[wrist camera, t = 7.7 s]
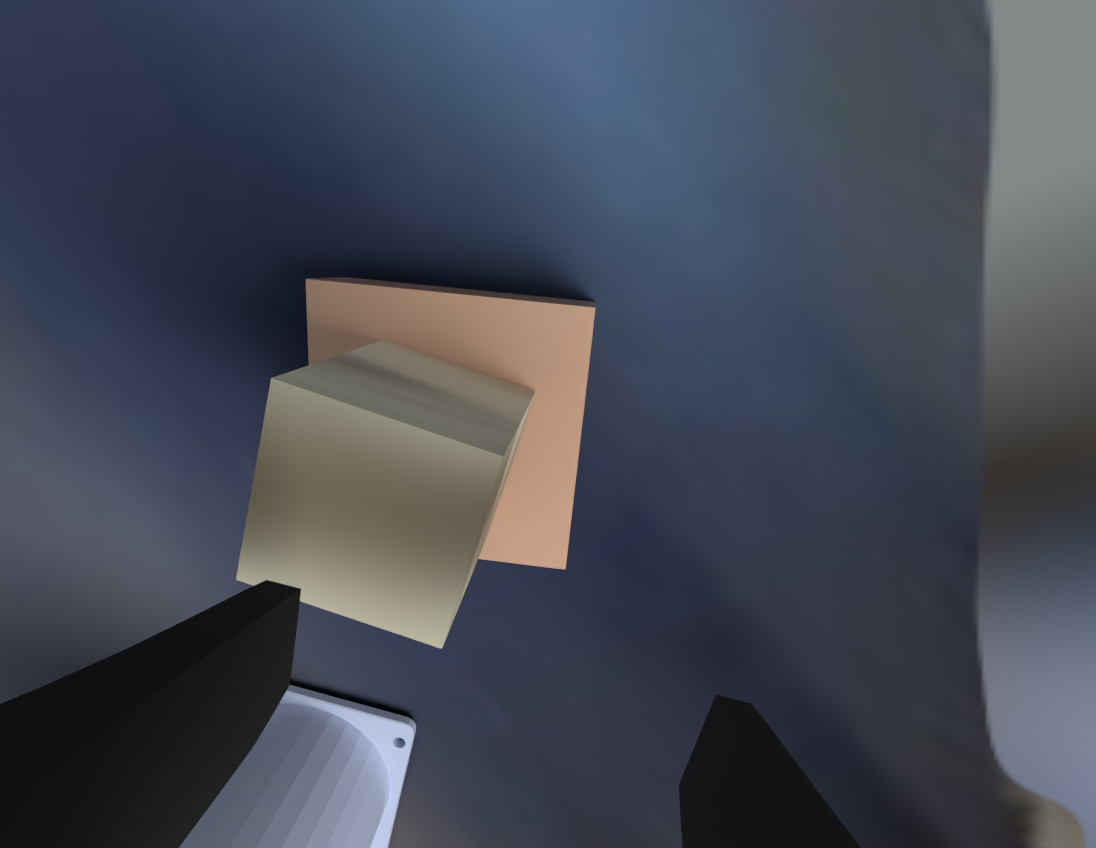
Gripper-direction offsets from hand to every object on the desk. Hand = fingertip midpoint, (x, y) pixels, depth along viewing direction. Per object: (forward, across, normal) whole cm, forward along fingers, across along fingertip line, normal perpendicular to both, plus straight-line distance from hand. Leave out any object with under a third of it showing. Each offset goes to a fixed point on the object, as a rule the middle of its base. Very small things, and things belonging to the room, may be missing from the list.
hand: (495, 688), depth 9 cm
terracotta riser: (+10, +3, -2) cm, 11 cm away
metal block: (+7, +3, -1) cm, 8 cm away
